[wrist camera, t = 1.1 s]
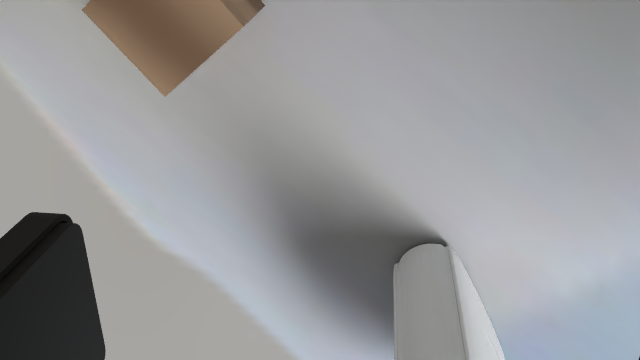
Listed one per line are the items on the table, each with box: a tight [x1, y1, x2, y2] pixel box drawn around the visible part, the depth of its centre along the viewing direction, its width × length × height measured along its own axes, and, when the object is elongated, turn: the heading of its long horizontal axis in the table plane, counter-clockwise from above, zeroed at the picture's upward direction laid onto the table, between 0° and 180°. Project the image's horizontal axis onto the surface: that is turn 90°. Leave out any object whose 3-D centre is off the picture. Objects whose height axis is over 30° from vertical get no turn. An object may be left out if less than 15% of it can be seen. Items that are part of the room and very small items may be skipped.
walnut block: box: [82, 0, 265, 97], centre depth 28 cm, size 5×5×5 cm
